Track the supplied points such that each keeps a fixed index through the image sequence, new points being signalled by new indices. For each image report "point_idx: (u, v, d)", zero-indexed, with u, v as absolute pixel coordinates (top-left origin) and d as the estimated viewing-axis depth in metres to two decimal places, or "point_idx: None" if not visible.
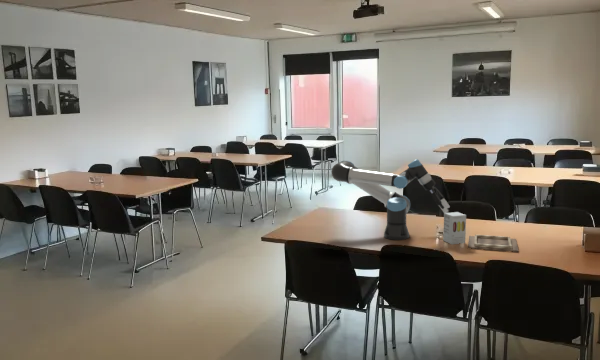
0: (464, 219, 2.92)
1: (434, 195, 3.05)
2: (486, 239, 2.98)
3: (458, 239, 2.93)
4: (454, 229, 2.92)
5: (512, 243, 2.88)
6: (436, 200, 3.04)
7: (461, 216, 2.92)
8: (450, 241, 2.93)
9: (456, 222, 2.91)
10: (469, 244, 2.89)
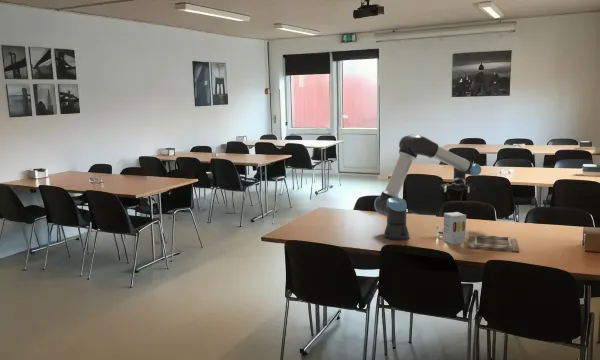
0: (464, 219, 2.92)
1: None
2: (486, 239, 2.98)
3: (458, 239, 2.93)
4: (454, 229, 2.92)
5: (512, 243, 2.88)
6: None
7: (461, 216, 2.92)
8: (450, 241, 2.93)
9: (456, 222, 2.91)
10: (469, 244, 2.89)
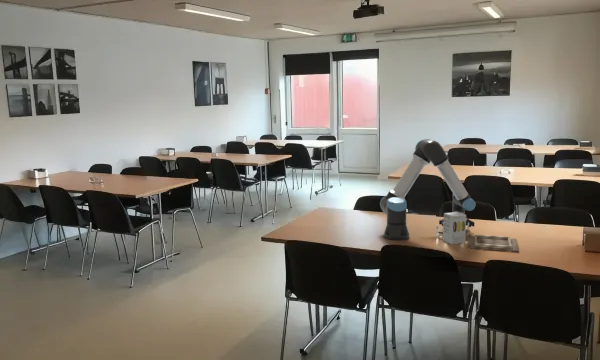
0: (464, 219, 2.92)
1: None
2: (486, 239, 2.98)
3: (458, 239, 2.93)
4: (455, 229, 2.91)
5: (512, 243, 2.88)
6: None
7: (461, 216, 2.92)
8: (450, 241, 2.93)
9: (456, 222, 2.91)
10: (469, 244, 2.89)
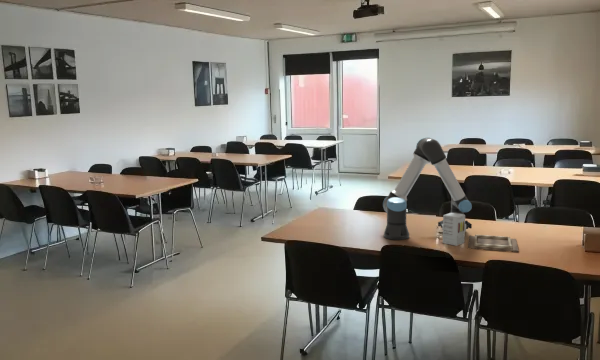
0: (464, 219, 2.93)
1: None
2: (486, 239, 2.98)
3: (460, 240, 2.92)
4: (458, 229, 2.89)
5: (512, 243, 2.88)
6: None
7: (462, 216, 2.91)
8: (455, 242, 2.90)
9: (459, 222, 2.89)
10: (469, 244, 2.89)
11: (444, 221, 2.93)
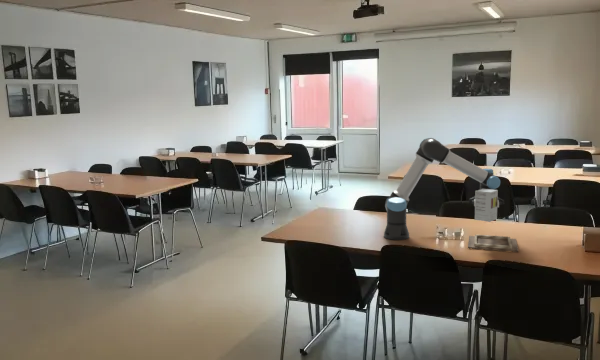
0: (496, 194, 2.85)
1: None
2: (486, 239, 2.98)
3: (493, 216, 2.84)
4: (492, 205, 2.82)
5: (512, 243, 2.88)
6: None
7: (495, 191, 2.84)
8: (488, 219, 2.82)
9: (492, 198, 2.82)
10: (469, 244, 2.89)
11: (476, 197, 2.86)
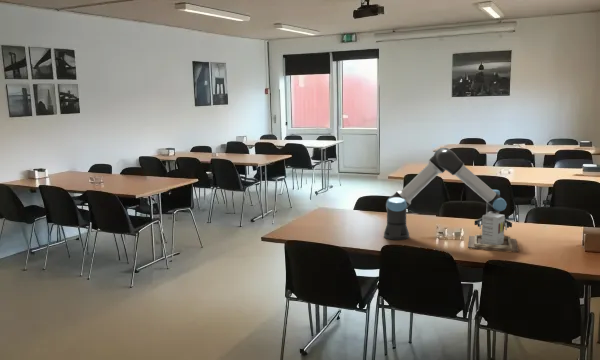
0: (503, 219, 2.86)
1: None
2: None
3: (500, 240, 2.85)
4: (499, 230, 2.82)
5: (512, 243, 2.88)
6: None
7: (502, 216, 2.84)
8: (495, 244, 2.83)
9: (500, 223, 2.82)
10: (469, 244, 2.89)
11: (483, 222, 2.86)
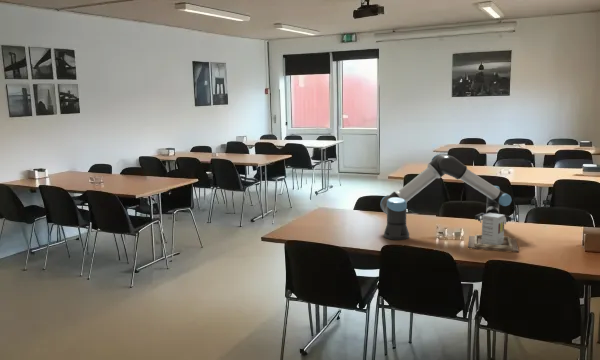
0: (503, 219, 2.86)
1: None
2: None
3: (500, 240, 2.85)
4: (499, 230, 2.82)
5: (512, 243, 2.88)
6: None
7: (502, 216, 2.84)
8: (495, 244, 2.83)
9: (500, 223, 2.82)
10: (469, 244, 2.89)
11: (483, 222, 2.86)
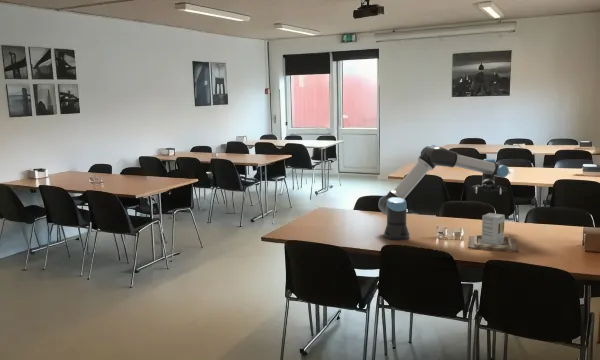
0: (503, 219, 2.86)
1: None
2: None
3: (500, 240, 2.85)
4: (499, 230, 2.82)
5: (512, 243, 2.88)
6: None
7: (502, 216, 2.84)
8: (495, 244, 2.83)
9: (500, 223, 2.82)
10: (469, 244, 2.89)
11: (483, 222, 2.86)
